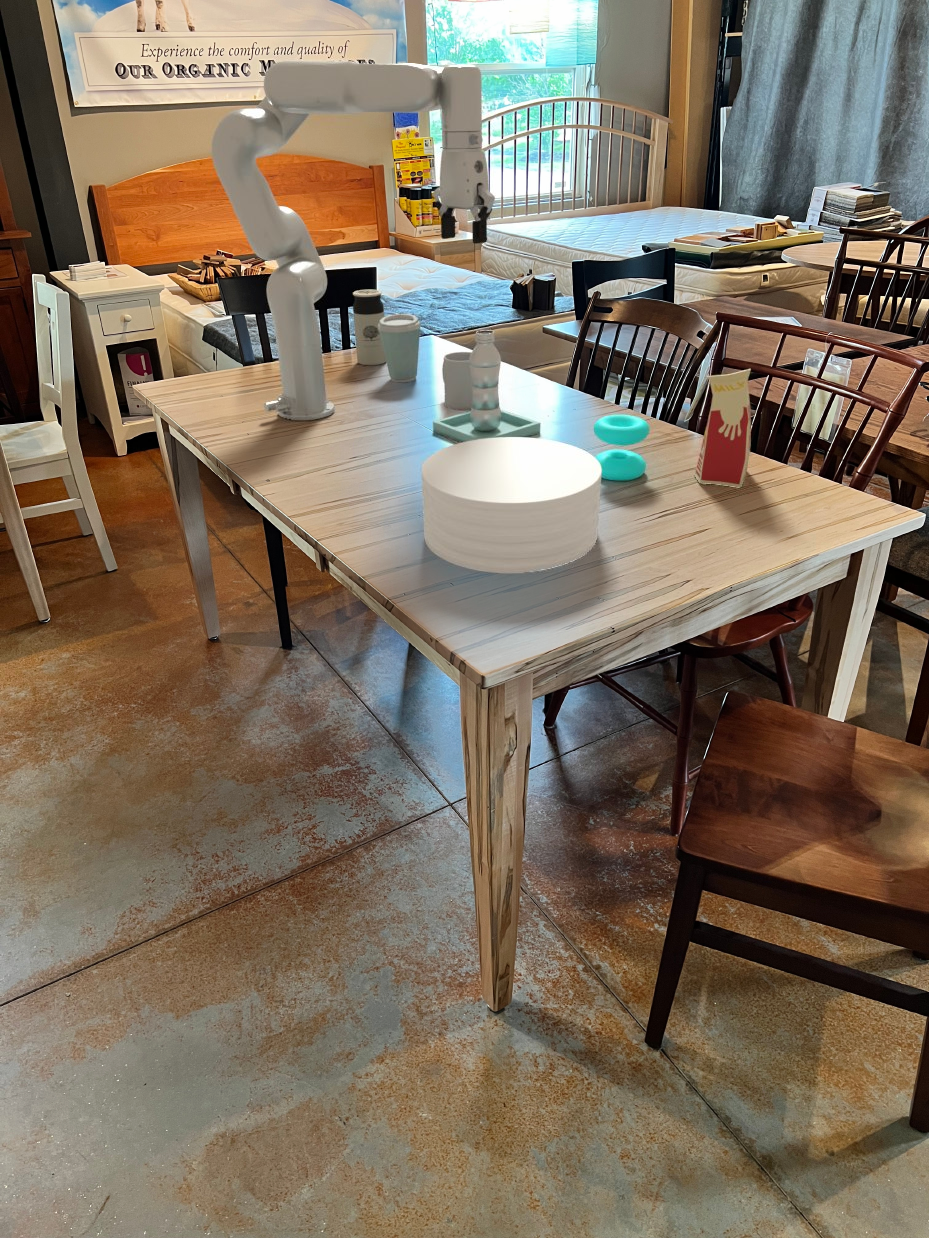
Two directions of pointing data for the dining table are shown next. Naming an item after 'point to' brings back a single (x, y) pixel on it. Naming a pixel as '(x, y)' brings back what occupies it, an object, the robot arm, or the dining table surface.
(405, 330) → the disposable coffee cup
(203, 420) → the dining table surface
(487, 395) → the plastic bottle
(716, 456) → the milk carton
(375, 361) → the travel mug
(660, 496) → the dining table surface
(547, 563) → the plate stack
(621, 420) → the donuts
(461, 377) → the mug
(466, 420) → the tray
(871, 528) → the dining table surface
